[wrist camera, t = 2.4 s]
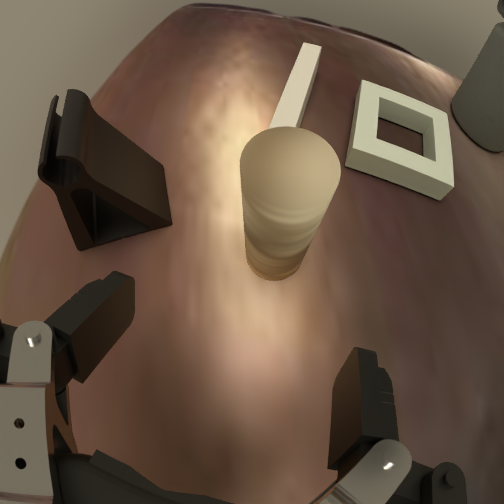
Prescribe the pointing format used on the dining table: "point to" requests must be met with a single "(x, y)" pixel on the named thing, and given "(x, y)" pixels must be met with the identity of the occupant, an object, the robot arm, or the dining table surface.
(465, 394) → the dining table surface
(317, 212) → the dowel
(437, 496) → the robot arm
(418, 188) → the pale green square frame
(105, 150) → the phone stand
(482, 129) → the water bottle
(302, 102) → the backstop wall
